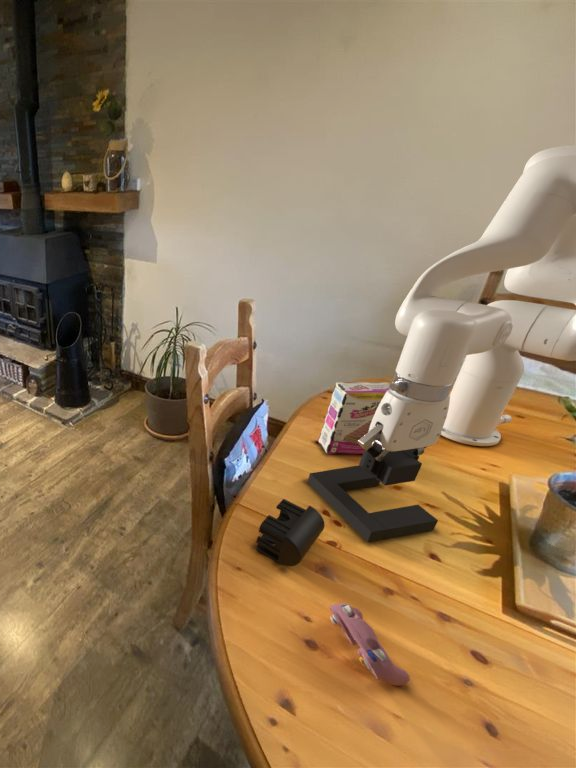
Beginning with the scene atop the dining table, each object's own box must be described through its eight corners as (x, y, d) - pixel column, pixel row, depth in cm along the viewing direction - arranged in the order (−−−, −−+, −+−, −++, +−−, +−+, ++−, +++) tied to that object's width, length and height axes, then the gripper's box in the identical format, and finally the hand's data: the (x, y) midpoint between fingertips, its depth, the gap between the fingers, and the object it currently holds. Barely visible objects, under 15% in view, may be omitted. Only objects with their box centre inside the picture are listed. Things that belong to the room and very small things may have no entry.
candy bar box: (327, 455, 94) (345, 392, 86) (317, 442, 98) (334, 381, 91) (380, 456, 93) (403, 392, 85) (368, 442, 97) (389, 381, 90)
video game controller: (330, 624, 62) (319, 600, 59) (359, 612, 62) (350, 587, 58) (379, 698, 54) (370, 674, 50) (415, 685, 53) (407, 661, 50)
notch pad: (363, 473, 88) (366, 463, 87) (433, 530, 74) (438, 520, 73) (307, 482, 87) (309, 473, 86) (367, 542, 73) (371, 532, 72)
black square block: (387, 460, 80) (393, 443, 78) (414, 481, 75) (422, 463, 73) (358, 465, 79) (364, 448, 78) (384, 485, 74) (391, 468, 72)
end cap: (295, 576, 68) (304, 547, 65) (253, 550, 73) (259, 523, 70) (319, 542, 74) (328, 514, 70) (279, 520, 78) (286, 493, 75)
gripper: (392, 403, 64) (360, 491, 73) (489, 389, 66) (447, 477, 75) (355, 381, 71) (329, 464, 79) (444, 370, 73) (410, 452, 81)
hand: (386, 470), depth 77 cm, fingers closed on black square block, 6 cm apart
